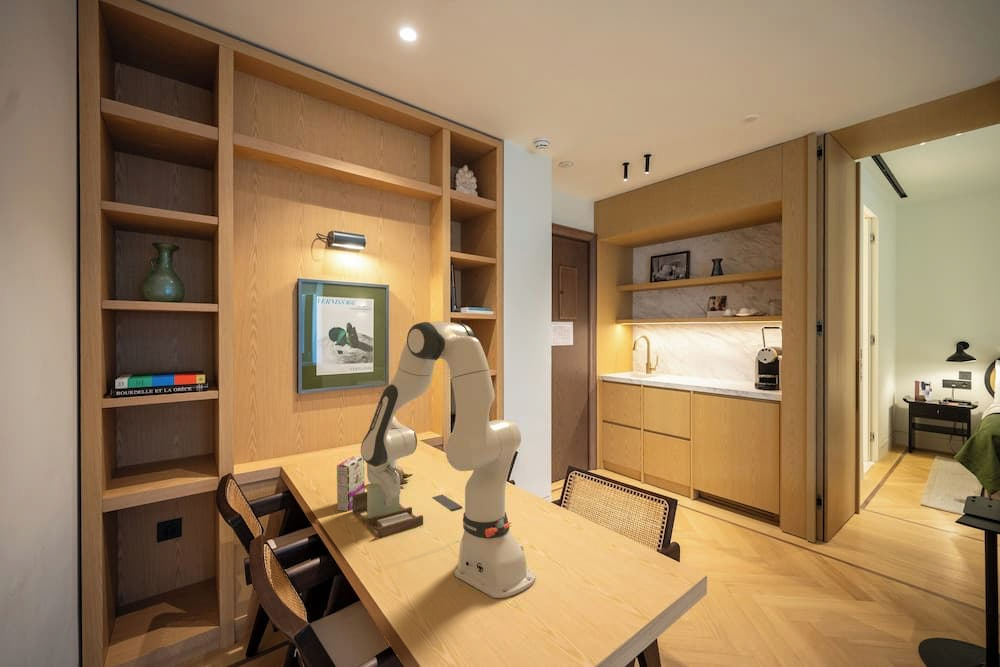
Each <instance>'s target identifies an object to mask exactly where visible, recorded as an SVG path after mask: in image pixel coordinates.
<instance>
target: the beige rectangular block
mask: <svg viewBox="0 0 1000 667" xmlns="http://www.w3.org/2000/svg"><path fill="white" fill-rule="evenodd" d="M366 492H367V511H366V514H367V515H366V518H367V519H369V518H372V517H376V516H380V515H383V514H387V513H390V512H394V511H398V510H400V509H399V504H400V495H399V496H398V497H394V498H392V500H391V506H389V507H386V506H385V505H384V504H385V503H384V500H386V497H385V494H384V493H383V492H382V491H381V490H380V486H379V485H378V484H369V485H367V487H366Z"/></svg>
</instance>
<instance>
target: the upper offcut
mask: <svg viewBox="0 0 1000 667" xmlns="http://www.w3.org/2000/svg"><path fill="white" fill-rule="evenodd" d="M410 518H413V517H411V516H410V515H409V514H408V513H407V512H406V513H403V514H399V515H395V516H391V517H388V518H384V519H380V520H377V526H376V527H377V528H379V527H383V526H386V525H390V524H393V523H396V522H400V521H403V520H407V519H410Z"/></svg>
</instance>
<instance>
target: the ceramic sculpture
mask: <svg viewBox="0 0 1000 667" xmlns="http://www.w3.org/2000/svg"><path fill="white" fill-rule="evenodd" d="M395 470H396V472H397V473H398V474H399V478H400V486H403V485H407V484H408V481H406V479H408V478H411V477H412V476H413V473H410V474H408V473H406V472H405V471H404V469H403V468H402V467H401V466H399V465H397V466H396V467H395Z"/></svg>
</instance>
